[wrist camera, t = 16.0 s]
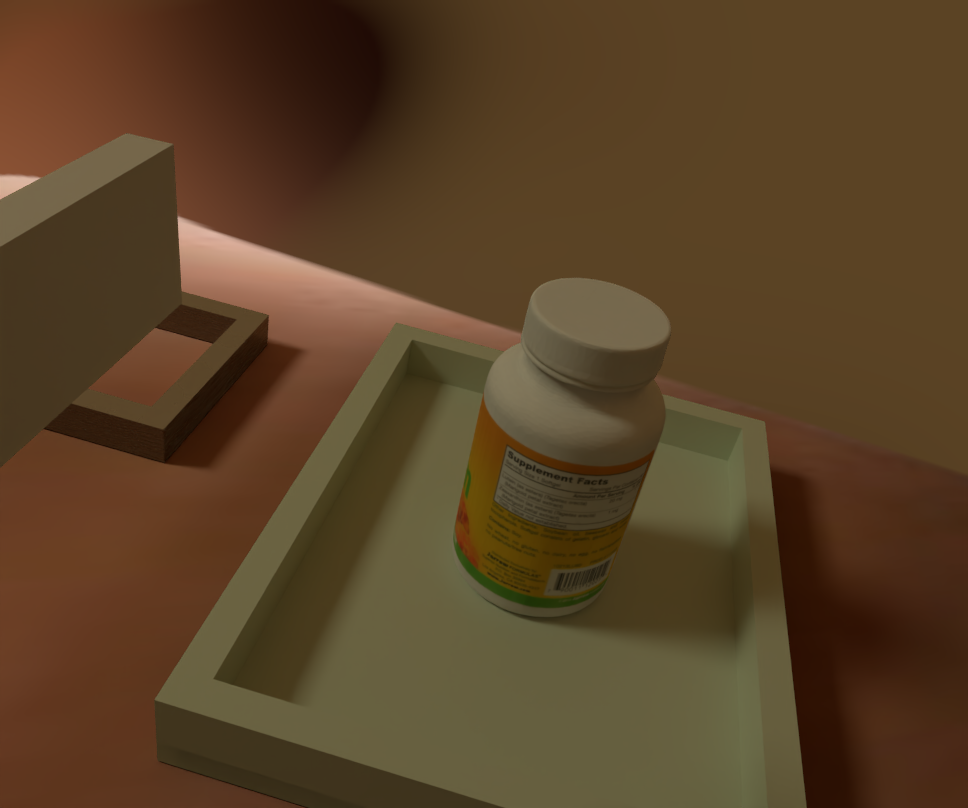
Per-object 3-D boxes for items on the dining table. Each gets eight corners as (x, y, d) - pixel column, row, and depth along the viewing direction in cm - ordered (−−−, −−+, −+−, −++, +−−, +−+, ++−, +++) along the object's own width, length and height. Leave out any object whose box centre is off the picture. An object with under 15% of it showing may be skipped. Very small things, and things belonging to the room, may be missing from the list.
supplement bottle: (482, 487, 32) (539, 247, 27) (622, 541, 31) (710, 303, 26) (423, 582, 28) (476, 318, 22) (583, 648, 27) (679, 388, 21)
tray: (744, 468, 38) (764, 421, 36) (776, 954, 21) (817, 903, 20) (389, 371, 39) (396, 322, 37) (157, 760, 22) (154, 699, 21)
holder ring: (267, 344, 39) (268, 315, 38) (164, 462, 31) (163, 429, 30) (78, 292, 39) (76, 262, 39) (-66, 396, 32) (-74, 362, 31)
